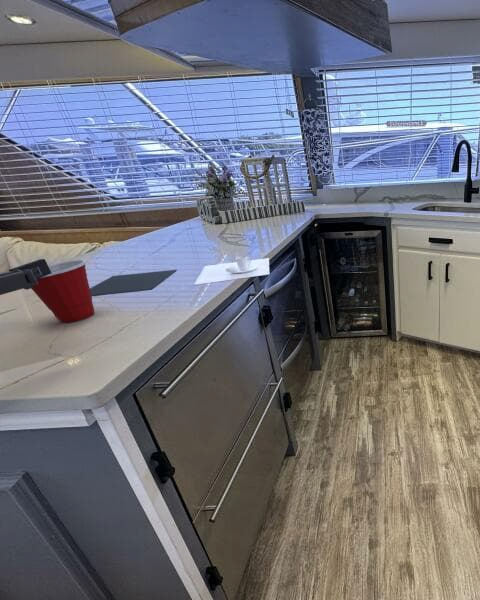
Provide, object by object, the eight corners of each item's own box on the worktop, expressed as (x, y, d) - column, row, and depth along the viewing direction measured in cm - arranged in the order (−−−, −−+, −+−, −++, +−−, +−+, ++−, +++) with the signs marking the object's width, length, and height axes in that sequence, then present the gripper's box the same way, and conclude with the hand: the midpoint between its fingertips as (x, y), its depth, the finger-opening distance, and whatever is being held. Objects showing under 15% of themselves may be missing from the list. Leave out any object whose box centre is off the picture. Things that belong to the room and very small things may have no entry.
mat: (74, 297, 84) (73, 297, 84) (113, 276, 100) (112, 275, 100) (151, 289, 87) (151, 288, 87) (177, 270, 103) (177, 269, 103)
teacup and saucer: (225, 276, 95) (222, 263, 94) (228, 268, 102) (225, 256, 101) (257, 271, 98) (254, 258, 97) (257, 265, 105) (255, 252, 103)
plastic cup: (49, 316, 73) (22, 266, 69) (109, 303, 79) (89, 256, 74) (36, 334, 65) (5, 278, 60) (105, 318, 71) (81, 266, 66)
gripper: (-281, 368, 36) (-77, 299, 56) (-12, 334, 42) (91, 281, 61) (-344, 309, 34) (-106, 257, 53) (-46, 280, 39) (73, 242, 58)
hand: (0, 270), depth 57 cm, fingers open, 13 cm apart
